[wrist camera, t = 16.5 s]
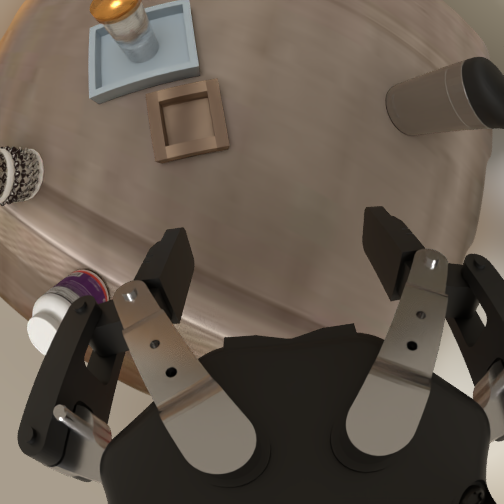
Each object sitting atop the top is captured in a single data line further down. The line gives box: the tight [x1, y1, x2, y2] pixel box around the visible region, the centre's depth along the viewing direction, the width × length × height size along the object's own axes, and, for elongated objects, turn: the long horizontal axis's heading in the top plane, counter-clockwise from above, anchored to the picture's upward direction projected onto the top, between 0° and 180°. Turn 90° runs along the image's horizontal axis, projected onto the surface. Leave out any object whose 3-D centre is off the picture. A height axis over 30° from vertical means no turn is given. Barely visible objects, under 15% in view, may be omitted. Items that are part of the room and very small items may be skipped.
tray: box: [89, 0, 200, 104], centre depth 27 cm, size 15×13×4 cm
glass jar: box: [90, 0, 159, 63], centre depth 21 cm, size 5×5×14 cm
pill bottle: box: [27, 270, 109, 355], centre depth 29 cm, size 8×8×14 cm
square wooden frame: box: [146, 78, 230, 163], centre depth 30 cm, size 9×9×4 cm
